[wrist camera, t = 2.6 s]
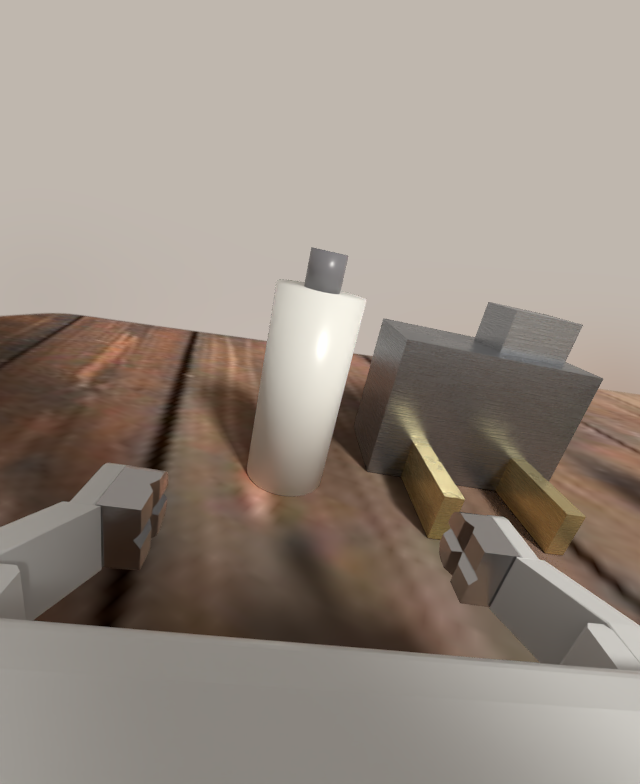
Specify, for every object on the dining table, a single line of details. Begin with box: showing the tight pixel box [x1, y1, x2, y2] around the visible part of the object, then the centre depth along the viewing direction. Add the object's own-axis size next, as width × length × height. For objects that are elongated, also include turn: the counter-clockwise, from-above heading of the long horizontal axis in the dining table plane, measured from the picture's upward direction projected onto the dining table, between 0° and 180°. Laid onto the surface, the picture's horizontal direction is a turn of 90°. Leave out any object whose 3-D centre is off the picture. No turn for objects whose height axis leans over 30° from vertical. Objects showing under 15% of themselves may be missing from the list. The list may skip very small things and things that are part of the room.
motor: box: [354, 302, 603, 555], centre depth 25 cm, size 16×13×13 cm
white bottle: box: [247, 248, 366, 496], centre depth 21 cm, size 5×5×14 cm
